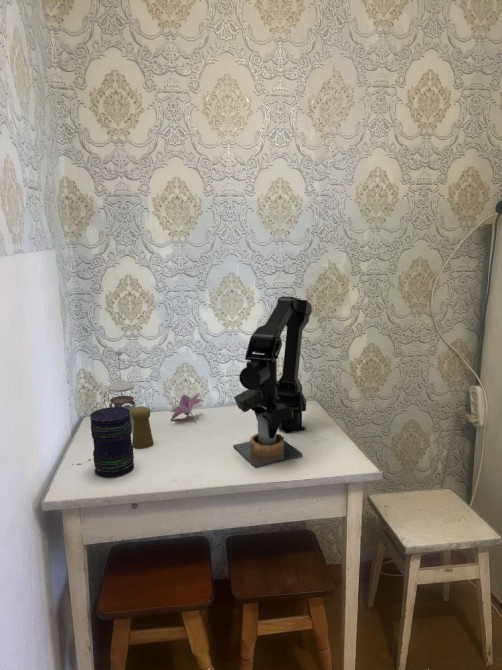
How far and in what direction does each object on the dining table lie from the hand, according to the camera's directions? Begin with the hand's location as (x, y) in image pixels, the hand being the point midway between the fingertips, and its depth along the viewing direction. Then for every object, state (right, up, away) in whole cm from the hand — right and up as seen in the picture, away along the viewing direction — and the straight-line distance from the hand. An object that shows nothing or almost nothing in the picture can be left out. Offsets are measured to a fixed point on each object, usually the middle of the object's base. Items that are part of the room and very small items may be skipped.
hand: (266, 434), depth 136 cm
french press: (-44, -2, +20) cm, 48 cm away
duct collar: (0, -5, +1) cm, 5 cm away
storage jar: (-39, -8, -7) cm, 40 cm away
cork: (-35, -5, +8) cm, 36 cm away
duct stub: (0, -2, +1) cm, 3 cm away
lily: (-25, -1, +26) cm, 36 cm away
